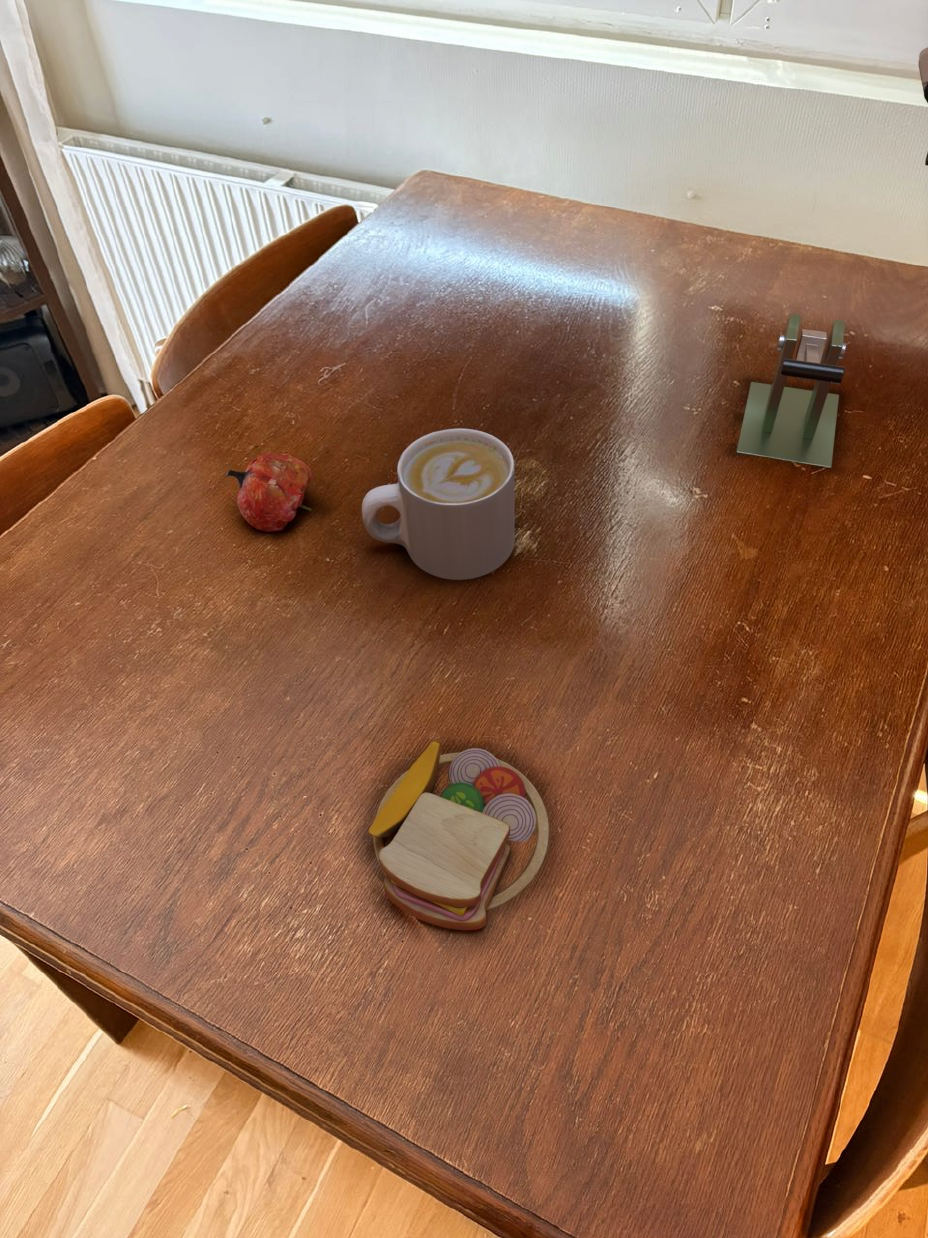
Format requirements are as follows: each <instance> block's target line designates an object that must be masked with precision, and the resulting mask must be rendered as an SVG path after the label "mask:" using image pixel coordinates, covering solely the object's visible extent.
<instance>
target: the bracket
mask: <svg viewBox="0 0 928 1238" xmlns="http://www.w3.org/2000/svg"><path fill="white" fill-rule="evenodd" d="M801 319H802V315H801V314H795V313H790V314H789V318H788V321H787V325H786V328H785V329H786V330H785V333H784V334H779V337H778V341H777V344H776V345H777V346H776V350H777V351H780V352H779V356H778V359H777V362H776V363H777V364H776V367H775V372H774V374H773V379H772V382H771V384H769V383H762V382H757V381H751V382H750V385H749V389H748V395H747V400H746V404H745V409H744V413H743V418H742V423H741V428H740V432H739V437H738V441H737V442H738V443H737V447H736V450H735V452H736V453H738V454H744V455H751V456H757V457H760V458H761V457H763V458H768V459H774V460H779V461H784V462H785V461H786V462H791V463H798V464H804V465H809V466H816V467H822V468H828V469H832V467H833V466H832V465H833V455H834V447H835V438H836V427H837V419H838V411H839V400H840V395H839V394H836V393H829V391H830V387H831V384H832V383H829V382H822V381H815V383H814V386H813V389H812V390H809V389H802V388H795V387H788V386H786V382H787V379H788V377H787V376H781V375H780V372H781V367H782V363H783V360H784V358H785V359H792V360H793V357H794V353H795V350H796V346H797V342H798V338H799V331H800V325H801ZM845 328H846V320H841V319H834V320H833V323H832V327H831V330H830V333H829V337H828V338H827V342H826V345H825V348H824V352H823V356H822V359H821V364H828V365H835V366H838V363H839V360H840V359H841V360H843V359H844V357H845V354H846V350H847V344H848V343H846V342H844V337H845Z"/></svg>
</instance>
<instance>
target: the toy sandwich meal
mask: <svg viewBox="0 0 928 1238" xmlns="http://www.w3.org/2000/svg"><path fill="white" fill-rule="evenodd" d="M441 748H442V747H441V744H440V743H439V742H437V741H434V740H433V741H432V742H430V743H429V745H428V746H427V747H426V748H425V750H423V752H422V753H421V755H420V756H419V757H418V758H417V759H416V760H415V761H414V762H413V763H412V765H411V766H410V768H409V769H408V770H406V771H405V772H404V773H403V774H401V775H400V776H399V777H398V778H397V779H396V780H395V781H394V782H393V784H392V785H390V787H389V788H388V790H387V791H386V792H385V794H384V796H383V797H382V799H381V801H380V803H379V805H378V808H377V811H376V813H375V818H374V819H373V821H372V823H371V825H370V827H369V828H368V834H369V835H370V836H372V837H373V838H372V839H373V841H372V842H373V849H374V853H375V857H376V860H377V863H378V864H379V867H380V869H381V872H382V873H383V875H384V878H383V882H382V883H383V891H384V893H385V896H386V898H388V899H389V900H390V901H391V903H393V904H394V905H395V906H396V907H397V908H399V909H400V910H402V911H403V912H405V913H406V914H408V915H409V916H412V918H413V917H414V919H415V918H416V919H418V920H420V921H423V922H425V923H428V924H430V925H434V926H437V927H440V928H444V929H451V930H457V931H458V930H459V931H477V930H481V929H483V928H484V927H485V926H486V925H487V911H489V910H492V909H495V908H497V907H499V906H501V905H504V904H505V903H507V902H509V901H510V900H511V899H514V898H515V897H516V896H517V895H519V894H520V893H521V892H522V891H524V890H525V888H526V887H527V886H528V885H529V884H530V883H531V882H532V881H533V879H535V877H536V875H537V874H538V873H539V870H540V868H541V867H542V864H543V862H544V860H545V857H546V854H547V851H548V846H549V839H550V823H549V818H548V813H547V810H546V806H545V803H544V801H543V799H542V797H541V795H540V794H539V792H538V790H537V789H536V787H535V786H534V784H532V782H531V781H530V780H529V779H528V778H527V777H526V775H524V774H523V773H522V772H521V771H519V770H518V769H517V768H515V767H514V766H512V765H510V764H509V763H507V762H505V761H503V760H501V759H498V758H496V757H495V756H494V755H493V754H492V753H491V752H490V751H488V750H486V749H482V748H477V747H471V748H468V749H465V750H463V751H460V752H451V753H450V752H449V753H444V754H441ZM447 764H450V765H449V768H448V780H449V784H450V785H448V786H447V787H445V788H444V789H443V790H442V792H440V794H439V795H437V794H434V793H433V791H434V789H435V787H436V783H437V778H438V772H439V766H443V765H447ZM526 797H527V799H526ZM535 831H537V833H536V842H535V847H534V851H533V853H532V857H531V858H530V860H529V862H528V864H527V866H526V867H525V869H524V870H523V872H522V873H521V874H520V875H519V877H518V878H516V879H515V881H513V882H512V883H511V884H510V885H508V886H507V887H506V888H504V889H502V890H501V891H499V892H497V890H498V887H499V884H500V883H501V880H502V878H503V875H504V874H505V873H504V872H505V870H506V868H507V866H508V863H509V860H510V858H511V854H512V847H511V846H510V845H509V844H508V843H507V842H508V841H512V842H518V843H525V842H527V841H528V840H529V839H530V838H531V837H532V836H533V835H534V833H535ZM396 832H397V833H396ZM395 833H396V834H395ZM394 834H395V835H394ZM393 835H394V837H393V839H392V840H391V841H390V843H388V844H387V845H386V840H385V838H389V837H391V836H393ZM496 892H497V893H496Z"/></svg>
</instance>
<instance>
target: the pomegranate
mask: <svg viewBox="0 0 928 1238" xmlns="http://www.w3.org/2000/svg"><path fill="white" fill-rule="evenodd" d="M229 476H230V477H234V478H236V480H237V482H238V486H239V487H238V492H237V496H236V506H237V508H238V510H239V512H240V514H241V516H242V517H243V519H244V520H245V521H246V522H247V524H249V525H250V526H252V527H253V528H254V529H256V530H258V531H262V532H266V533H271V532H280V531H282V530H284V529H285V527H287V526H288V523H289V522H292V521H293V520H294V519H295V517H296V514H297V511H298V508H300V509H302V510H304V511H308V512H309V511H310V512H311V511H312V508H310V507H307V506H306V505H304V504H303V502H304V499H305V493H306V490H307V488H308V486H309V484H310V482H311V481H312V479H313V473H312V471H311V468H310V467H309V466H308V465H307V464H306V463H305V462H303V461H302V460H300V459H299V458H296V457H295V456H292V455H290V454H287V453H266V454H261V455H259V456H256V457H255V458H254V459H253V460H251V461H250V462H249V464H248V465H247V467H246V470H245V471H238V470H232V469H231V468H229V470H228V471H227V473H226V475H225V476H224V478H227V477H229Z"/></svg>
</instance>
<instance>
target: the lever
mask: <svg viewBox="0 0 928 1238" xmlns="http://www.w3.org/2000/svg"><path fill="white" fill-rule="evenodd" d="M827 342H828V335H827V332H826V331H821V330H814V329H807V328H802V329H801V333H800V337H799V340H798V345H797V347H796V353H795V359H793V358H792V359H785V358H784V360H783V363H782V367H781V372H780V375H781V376H787V378H788V377H789V378H795V379H801V380H809V381H815V382H816V381H822V382H829V383H831V384H835V385H836V384H837V385H840V384H841V383H842V381H843V378H844V374H845V366H841V365H837V366H835V365H828V364H821V362H822V359H823V356H824V353H825V349H826V346H827Z"/></svg>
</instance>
